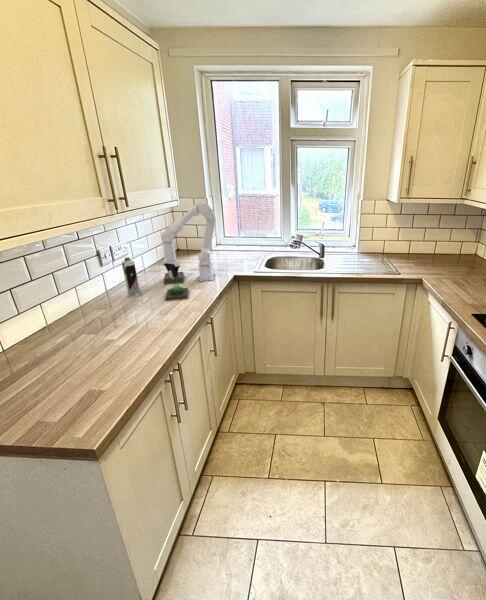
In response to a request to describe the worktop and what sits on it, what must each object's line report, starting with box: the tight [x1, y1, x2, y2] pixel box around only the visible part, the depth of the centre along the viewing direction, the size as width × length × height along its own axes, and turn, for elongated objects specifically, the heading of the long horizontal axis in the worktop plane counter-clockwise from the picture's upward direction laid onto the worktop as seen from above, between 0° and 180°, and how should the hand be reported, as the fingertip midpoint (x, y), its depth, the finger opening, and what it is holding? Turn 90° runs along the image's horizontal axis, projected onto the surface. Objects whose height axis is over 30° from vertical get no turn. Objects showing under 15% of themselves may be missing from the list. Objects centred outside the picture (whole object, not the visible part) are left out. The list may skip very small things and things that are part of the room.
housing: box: [165, 286, 189, 301], centre depth 162 cm, size 12×10×4 cm
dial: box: [167, 270, 178, 278], centre depth 180 cm, size 4×4×4 cm
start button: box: [171, 285, 181, 291], centre depth 161 cm, size 4×4×2 cm
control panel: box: [163, 271, 185, 285], centre depth 184 cm, size 13×10×3 cm
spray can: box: [121, 256, 142, 298], centre depth 158 cm, size 6×6×20 cm
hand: (173, 276), depth 181 cm, fingers closed on dial, 4 cm apart
